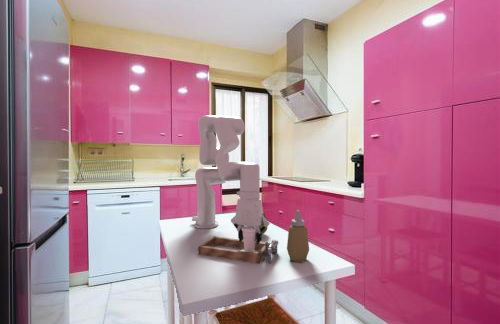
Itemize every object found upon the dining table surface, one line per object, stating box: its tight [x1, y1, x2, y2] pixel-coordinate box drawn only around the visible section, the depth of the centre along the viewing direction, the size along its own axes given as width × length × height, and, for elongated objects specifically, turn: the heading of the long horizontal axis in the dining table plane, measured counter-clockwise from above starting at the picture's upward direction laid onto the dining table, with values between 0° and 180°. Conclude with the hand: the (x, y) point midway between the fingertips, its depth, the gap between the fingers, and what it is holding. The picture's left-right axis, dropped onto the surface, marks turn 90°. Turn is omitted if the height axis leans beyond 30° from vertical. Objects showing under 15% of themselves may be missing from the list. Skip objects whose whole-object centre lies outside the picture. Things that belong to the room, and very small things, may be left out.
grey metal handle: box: [264, 239, 279, 264], centre depth 93 cm, size 2×12×8 cm, turn 160°
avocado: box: [261, 211, 269, 235], centre depth 120 cm, size 8×8×12 cm
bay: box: [197, 236, 271, 265], centre depth 99 cm, size 25×13×3 cm, turn 70°
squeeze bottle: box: [286, 209, 310, 263], centre depth 92 cm, size 8×8×18 cm
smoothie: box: [242, 226, 257, 253], centre depth 97 cm, size 6×6×14 cm
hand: (249, 241), depth 97 cm, fingers closed on smoothie, 6 cm apart
